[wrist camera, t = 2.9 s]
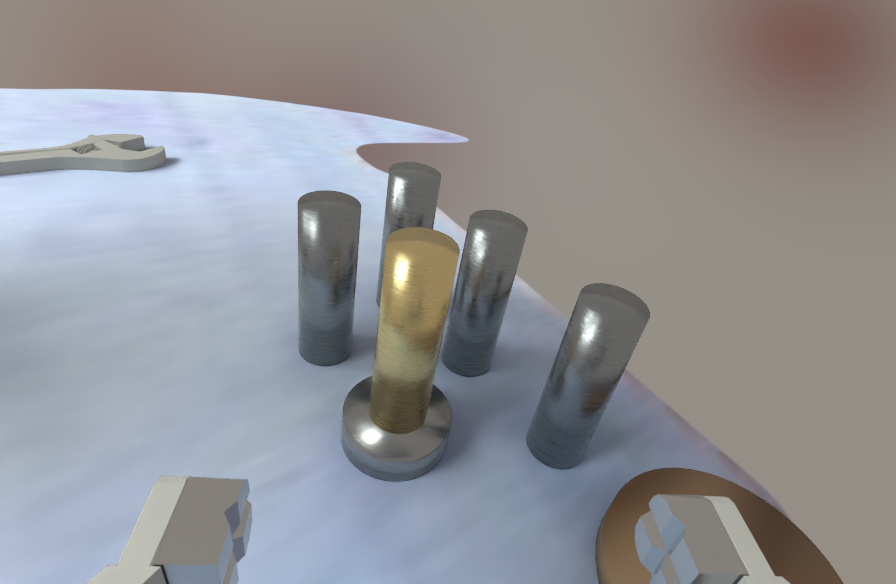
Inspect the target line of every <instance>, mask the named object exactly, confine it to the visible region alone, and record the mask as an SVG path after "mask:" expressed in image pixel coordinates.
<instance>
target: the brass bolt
mask: <svg viewBox="0 0 896 584" xmlns="http://www.w3.org/2000/svg"><path fill="white" fill-rule="evenodd" d="M458 256H459V246H458V244H457V243H456V242H455V241H454V240H453V239H452V238H451V237H449V236H448V235H446V234H444V233H442V232H439V231H436V230H433V229H428V228H421V227H409V228H403V229H399V230H396V231H394V232H393V233H391V234H390V235H389V236H388V238H387V241H386V250H385V260H384V269H383V279H382V289H381V298H380V308H379V318H378V327H377V337H376V346H375V356H374V366H373V375H372V376H371V377H368V378H366V379H364V380H363V381H361V382H360V383H358V384H357V385H356V386H355V387H354V388H353V389H352V390H351V391H350V392H349V394H348V396H347V397H346V400H345V402H344V407H343V421H342V438H341V439H342V446H343V449H344V452H345V454H346V456H347V457H348V459H349V460H350V461H351V463H352V464H353V465H354V466H355V467H356V468H358V469H359V470H360V471H362V472H363V473H365V474H367V475H369V476H371V477H374V478H376V479H380V480H384V481H407V480H411V479H415V478H417V477H420V476H422V475H424V474H426V473H427V472H429V471H430V470H431V469H433V468H434V467H435V466H436V465H437V463H438V462H439V461H440V459H441V457H442V455H443V453H444V450H445V446H446V442H447V437H448V433H449V429H450V425H451V409H450V406H449V403H448V401H447V399H446V397H445V396H444V395H443V393H442V392H441V391H440V390H439V389H438V388H437V387H436V386H435V385H433V382H434V377H435V372H436V367H437V362H438V357H439V352H440V347H441V342H442V337H443V332H444V327H445V322H446V317H447V311H448V306H449V301H450V296H451V291H452V286H453V281H454V276H455V271H456V266H457V261H458Z"/></svg>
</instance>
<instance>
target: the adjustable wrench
mask: <svg viewBox="0 0 896 584" xmlns="http://www.w3.org/2000/svg"><path fill="white" fill-rule="evenodd" d="M143 149H145V144H144V138H143V136H140V135H131V134H111V135H100V136H94V135H90V136H88V137H87V138H86V139H84V140H81V141H78V142H75V143H72V144H69V145H65V146H59V147H52V148H42V149H30V150H17V151H4V152H0V175H9V174H19V173H29V172H39V171H49V170H62V169H82V170H104V171H117V172H138V171H145V170H150V169H153V168H156V167H158V166H160V165H162V164H164V163H165V161H166V154H165V148H164V147H163V146H159V147H155V148H152V149H148V150H144V151H140V152H139V150H143Z"/></svg>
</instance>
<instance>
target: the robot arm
mask: <svg viewBox="0 0 896 584" xmlns="http://www.w3.org/2000/svg"><path fill="white" fill-rule="evenodd" d="M249 490H250V489H249V483H248V479H228V478H206V477H192V476H164V475H161V477H160V478H159V479H158V480H157V482H156V483H155V484H154V486H153V488H152V490H151V492H150V494H149V496H148V499H147V501H146V503H145V505H144V507H143V509H142V512H141V514H140V516H139V518H138V520H137V522H136V525H135V527H134V529H133V531H132V533H131V535H130V538H129V540H128V542H127V544H126V546H125V548H124V551H123V553H122V555H121V557H120V559H119V561H118V564H117V565H107V566H106V567H105V568H104V569H103V570H101V571H100V572H99V573H98V574H97V575H96V576H94V577H93V578H92V579H91V580H90V581H89V582H87V583H86V584H237V583H238V580H239V579H238V572H237V565H236V563H237V562H238V561H239V560H240V559H241V558H242V557H243V556H244V555H245V553H246V549H247V545H248V541H249V536H250V530H251V524H252V506H251V503H249V502H248V501H247V498H248V494H249ZM649 507H650V509H651V511H649V512H647V513H646V514H644V515H642V516H641V517H640V519H639V520H638V522H637V524H636V527H635V544H636V550H637V553H638V556H639V559H640V562H641V563H642V564H643V565H644V566H645V567H646V568H647V569H648V570H649V571H650V572H651V573H652V575H651V579H650V583H649V584H790V583H789V582H788V581H787V580H786V579H784V578H783V577H781V576H775V575H774V573H773V571H772V569H771V568H770V566H769V564H768V562H767V560H766V559H765V557H764V555H763V553H762V552H761V550H760V548H759V546H758V544H757V543H756V541H755V539H754V537H753V536H752V534H751V532H750V530H749V528H748V527H747V525H746V523H745V521H744V520H743V518H742V516H741V514H740V513H739V511H738V509H737V507H736V505H735V504H734V502H732V501H731V500H730V499H729V498H728V497H723V496H702V495H670V494H658V495H656V496H653V497H652V499H651V501H650V502H649Z"/></svg>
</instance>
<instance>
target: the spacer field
mask: <svg viewBox="0 0 896 584" xmlns="http://www.w3.org/2000/svg"><path fill="white" fill-rule="evenodd" d="M440 181H441V174H440V173H439V172H438V171H437V170H436V169H434V168H432V167H430V166H427V165H424V164H420V163H413V162H402V163H397V164H394V165H392V166H391V167H390V169H389V179H388V189H387V199H386V209H385V219H384V229H383V239H382V250H381V260H380V270H379V280H378V290H377V304H378V306H379V307H380V298H381V289H382V279H383V269H384V260H385V250H386V241H387V238H388V236H389V235H390V234H391V233H393V232H394V231H396V230H399V229H403V228H409V227H421V228H428V229H433V225H434V218H435V212H436V206H437V199H438V193H439V187H440ZM360 215H361V204H360V202H359V201H358V200H357V199H356V198H354V197H352V196H350V195H348V194H345V193H341V192H336V191H315V192H310V193H307V194H305V195H303V196H302V197H300V199H299V200H298V293H299V352H300V355H301V356H302V357H303V358H304V359H305V360H306V361H308V362H310V363H312V364H315V365H320V366H329V365H335V364H338V363H340V362H342V361H344V360H345V359H346V358H347V357H348V356H349V355H350V352H351V345H352V331H353V317H354V302H355V288H356V273H357V259H358V244H359V230H360ZM527 231H528V229H527V226H526V224H525V223H524V222H523V221H522V220H520V219H519V218H517V217H516V216H514V215H511V214H509V213H505V212H502V211H496V210H481V211H477V212H475V213H473V214H472V215H471V216H470V220H469V225H468V229H467V234H466V239H465V244H464V249H463V254H462V259H461V264H460V268H459V273H458V278H457V283H456V288H455V293H454V298H453V303H452V308H451V313H450V317H449V322H448V327H447V332H446V337H445V342H444V347H443V352H442V360H443V362H444V364H445V366H446V367H447V368H448V369H450V370H451V371H453V372H454V373H456V374H459V375H462V376H470V377H472V376H478V375H481V374H483V373H485V372H486V371H487V370H488V369H489V367H490V363H491V360H492V356H493V352H494V349H495V345H496V342H497V338H498V335H499V331H500V327H501V324H502V320H503V317H504V313H505V310H506V306H507V302H508V299H509V295H510V292H511V288H512V285H513V281H514V277H515V274H516V270H517V267H518V263H519V260H520V256H521V252H522V249H523V245H524V242H525V238H526V234H527ZM649 318H650V312H649V309H648V307H647V305H646V304H645V303H644V302H643V301H642V300H641V299H640V298H639V297H637V296H636V295H635V294H633V293H631V292H629V291H627V290H625V289H623V288H620V287H618V286H614V285H610V284H603V283H596V284H590V285H587V286H586V287H584V288H583V289H582V290H581V292H580V294H579V298H578V300H577V303H576V305H575V308H574V311H573V313H572V316H571V318H570V321H569V324H568V326H567V329H566V332H565V334H564V337H563V340H562V342H561V345H560V348H559V350H558V353H557V356H556V358H555V361H554V364H553V366H552V369H551V372H550V374H549V377H548V380H547V382H546V385H545V388H544V390H543V393H542V396H541V398H540V401H539V404H538V406H537V409H536V412H535V414H534V417H533V420H532V422H531V425H530V428H529V430H528V433H527V438H526V440H527V445H528V448H529V450H530V451H531V453H532V454H533V455H534V456H535V457H536V458H537V459H538V460H539V461H540V462H542V463H543V464H545V465H547V466H550V467H553V468H557V469H568V468H571V467H574V466H575V465H577V464H578V463H579V461H580V460H581V458H582V456H583V454H584V452H585V450H586V448H587V446H588V443H589V441H590V439H591V437H592V435H593V433H594V431H595V429H596V427H597V425H598V423H599V421H600V419H601V417H602V415H603V413H604V411H605V408H606V406H607V404H608V402H609V400H610V398H611V396H612V394H613V392H614V390H615V388H616V386H617V384H618V382H619V380H620V378H621V376H622V373H623V371H624V369H625V367H626V365H627V363H628V361H629V359H630V357H631V355H632V353H633V351H634V349H635V347H636V345H637V343H638V341H639V338H640V336H641V334H642V332H643V330H644V328H645V326H646V324H647V322H648V320H649Z"/></svg>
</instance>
